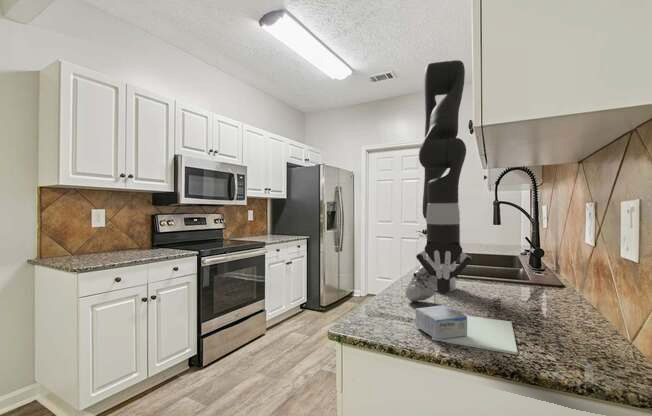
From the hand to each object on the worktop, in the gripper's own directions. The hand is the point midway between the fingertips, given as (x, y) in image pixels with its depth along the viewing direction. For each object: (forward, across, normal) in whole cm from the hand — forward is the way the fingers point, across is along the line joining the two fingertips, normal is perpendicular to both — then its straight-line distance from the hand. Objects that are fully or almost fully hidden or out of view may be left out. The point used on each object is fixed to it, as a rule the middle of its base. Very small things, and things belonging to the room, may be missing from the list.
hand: (443, 293), depth 75 cm
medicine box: (+5, +3, +1) cm, 6 cm away
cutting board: (+8, -7, 0) cm, 10 cm away
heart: (+8, +8, -16) cm, 20 cm away
